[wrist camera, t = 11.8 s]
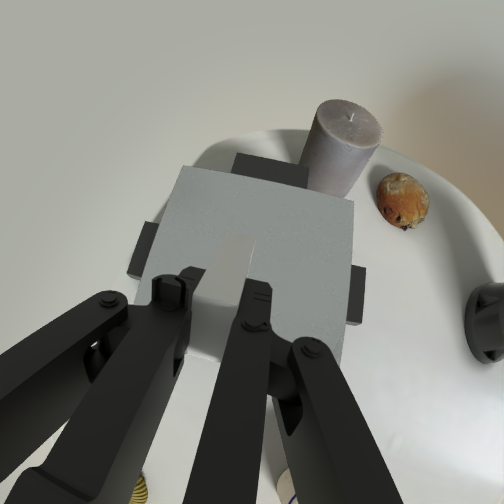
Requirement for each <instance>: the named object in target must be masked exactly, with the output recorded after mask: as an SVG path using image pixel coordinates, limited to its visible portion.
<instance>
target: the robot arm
mask: <svg viewBox="0 0 504 504" xmlns="http://www.w3.org/2000/svg"><path fill="white" fill-rule="evenodd" d="M255 240H256V238H255V237H250V236H245V235H241V234H236V233H231V232H228V233H227V234H226V236H225V238H224V240H223V241H222V243H221V245H220V247H219V248H218V250H217V252H216V254H215V255H214V257H213V259H212V261H211V263H210V264H209V266H208V268H207V270H206V269H201V268H197V267H193V266H189V267H187V268H185V269H183V270H182V271H181V272H180V274H179V275H172V274H162V275H159V276H156V277H154V278H153V279H152V292H151V301H150V303H149V304H148V305H128V300H127V298H126V296H125V295H123V294H122V293H120V292H117V291H112V290H109V291H102V292H99V293H97V294H95V295H93V296H92V297H90V298H88V299H87V300H85V301H83V302H82V303H80V304H78V305H77V306H75V307H74V308H72V309H70V310H69V311H67V312H65V313H64V314H62V315H61V316H59V317H58V318H56V319H54V320H53V321H51V322H50V323H48V324H47V325H45V326H43V327H42V328H40V329H39V330H37V331H36V332H34V333H32V334H31V335H29V336H28V337H26V338H25V339H23V340H22V341H20V342H19V343H17V344H16V345H14V346H13V347H11V348H10V349H8V350H7V351H5V352H4V353H2V354H1V355H0V483H1V482H2V481H3V480H5V479H6V478H7V477H8V476H9V475H10V474H11V473H12V472H13V471H14V470H15V469H16V468H17V467H18V466H20V464H22V463H23V462H24V461H25V460H26V459H27V458H28V457H29V456H30V455H31V454H32V453H33V452H34V451H36V450H37V449H38V448H39V447H40V446H41V445H42V444H43V443H44V442H45V441H46V440H47V439H48V438H49V437H50V436H52V435H53V434H54V433H55V432H56V431H57V430H58V429H59V428H60V427H61V426H62V425H63V424H64V423H65V422H67V421H68V420H69V421H68V423H67V424H66V426H65V427H64V429H63V431H62V432H61V434H60V436H59V437H58V439H57V441H56V442H55V444H54V446H53V447H52V449H51V451H50V453H49V454H48V456H47V458H46V460H45V461H44V462H43V464H41V465H40V466H38V467H29V468H28V469H26V470H24V471H23V472H22V473H21V475H20V476H19V477H18V479H17V481H16V482H15V484H14V486H13V488H12V490H11V491H10V493H9V495H8V497H7V499H6V501H5V503H4V504H129V502H130V499H131V497H132V494H133V491H134V489H135V486H136V483H137V481H138V478H139V475H140V473H141V470H142V467H143V465H144V462H145V460H146V457H147V454H148V452H149V449H150V447H151V444H152V441H153V439H154V436H155V434H156V431H157V429H158V426H159V424H160V421H161V419H162V416H163V414H164V411H165V409H166V406H167V404H168V401H169V399H170V396H171V394H172V391H173V389H174V386H175V384H176V381H177V379H178V376H179V374H180V371H181V369H182V367H183V364H184V354H185V351H186V349H187V347H188V352H187V354H188V355H192V356H196V357H200V358H204V359H208V360H212V361H216V362H220V363H221V365H220V369H219V373H218V376H217V380H216V383H215V387H214V391H213V394H212V398H211V402H210V405H209V409H208V413H207V416H206V420H205V423H204V427H203V431H202V434H201V438H200V442H199V445H198V449H197V453H196V456H195V460H194V463H193V467H192V471H191V474H190V478H189V482H188V485H187V489H186V493H185V496H184V500H183V503H182V504H256V497H257V489H258V480H259V471H260V462H261V453H262V443H263V433H264V423H265V412H266V401H267V394H268V395H270V396H272V402H273V406H274V410H275V414H276V418H277V422H278V426H279V430H280V434H281V438H282V442H283V446H284V450H285V454H286V458H287V462H288V466H289V470H290V474H291V478H292V482H293V486H294V490H295V494H296V497H297V501H298V504H403V501H402V499H401V497H400V494H399V492H398V490H397V488H396V485H395V483H394V481H393V479H392V477H391V474H390V472H389V470H388V468H387V466H386V463H385V461H384V459H383V457H382V455H381V453H380V450H379V448H378V446H377V444H376V442H375V440H374V438H373V436H372V433H371V431H370V429H369V427H368V425H367V423H366V421H365V419H364V417H363V415H362V412H361V410H360V408H359V406H358V404H357V402H356V400H355V398H354V396H353V394H352V392H351V390H350V388H349V386H348V384H347V382H346V380H345V378H344V376H343V374H342V372H341V370H340V368H339V366H338V364H337V362H336V360H335V358H334V356H333V354H332V352H331V350H330V348H329V347H328V346H327V344H325V343H324V342H322V341H321V340H319V339H316V338H314V337H307V336H305V337H299V338H297V339H295V340H294V342H293V343H292V342H290V341H287V340H285V339H283V338H281V337H280V336H278V335H277V334H276V333H275V332H274V331H273V330H272V326H271V324H270V318H271V305H272V291H273V289H272V288H271V286H270V284H269V283H268V282H263V281H259V280H254V279H249V278H247V277H248V273H249V268H250V263H251V259H252V254H253V249H254V244H255ZM465 330H466V337H467V341H468V344H469V347H470V349H471V351H472V353H473V355H474V356H475V357H476V359H477V360H479V361H480V362H482V363H486V364H488V363H495V362H498V361H500V360H502V359H504V283H487V284H484V285H482V286H480V287H478V288H477V289H475V290H474V291H473V293H472V294H471V296H470V298H469V301H468V304H467V307H466V314H465ZM96 341H97V344H96V345H94V346H92V347H91V345H93V344H94V343H95V342H96Z"/></svg>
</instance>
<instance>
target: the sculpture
mask: <svg viewBox="0 0 504 504" xmlns="http://www.w3.org/2000/svg"><path fill="white" fill-rule="evenodd" d="M141 495H142V496H141ZM147 498H148V489H147V486H146V484H145V482H144V480H142V478H141V476H139V478H138V481H137V483H136V486H135V489H134V491H133V494H132V497H131V499H130V502H129V504H145V502H146V501H147Z"/></svg>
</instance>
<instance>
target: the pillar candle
mask: <svg viewBox="0 0 504 504" xmlns="http://www.w3.org/2000/svg"><path fill="white" fill-rule="evenodd" d="M382 133H383V129H382V128H381V127H380V124H379V123H378V121H377V120H376V119H375V117H374V116H373V115H372V114H371V113H370V112H368V111H367V110H366V109H365V108H363V107H361V106H359V105H357V104H355V103H352V102H349V101H345V100H328V101H326V102H324V103H322V104H321V105H320V106H319V107H318V109H317V112H316V114H315V117H314V120H313V123H312V127H311V130H310V133H309V136H308V138H307V141H306V144H305V147H304V150H303V153H302V156H301V159H300V162H299V165H300V166H304V167H308V168H309V176H308V185H307V190H311V191H316V192H320V193H324V194H328V195H332V196H336V197H339V198H343V197H344V196H346V195H347V194H348V192H349V191H350V189H351V188H352V186H353V185H354V183H355V182H356V180H357V178H358V177H359V175H360V174H361V172H362V170H363V169H364V167H365V166H366V164H367V162H368V161H369V159H370V157H371V156H372V154H373V152H374V151H375V149H376V148H377V146H378V145H379V143H380V142H381V139H382Z"/></svg>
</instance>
